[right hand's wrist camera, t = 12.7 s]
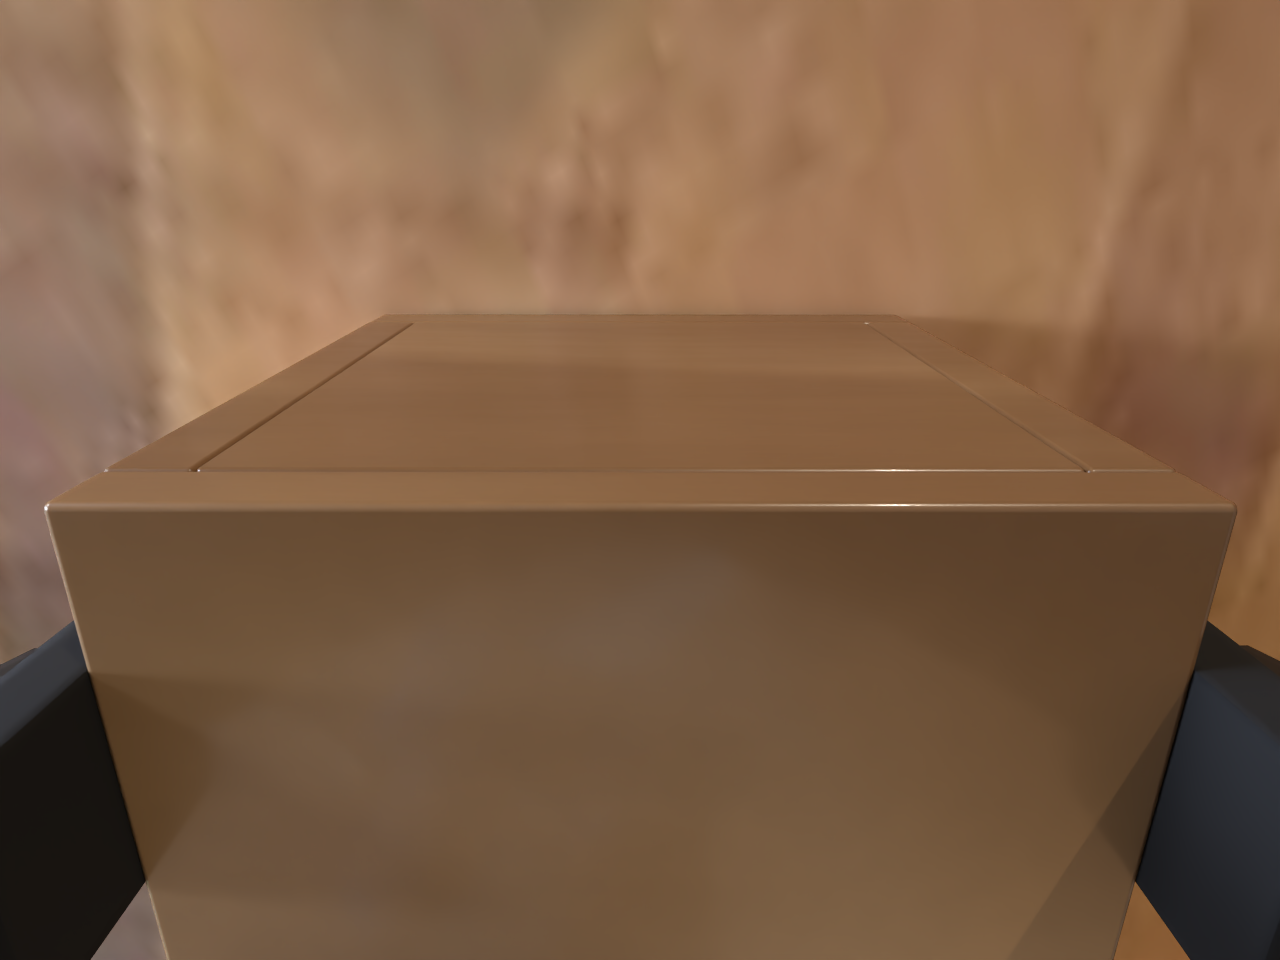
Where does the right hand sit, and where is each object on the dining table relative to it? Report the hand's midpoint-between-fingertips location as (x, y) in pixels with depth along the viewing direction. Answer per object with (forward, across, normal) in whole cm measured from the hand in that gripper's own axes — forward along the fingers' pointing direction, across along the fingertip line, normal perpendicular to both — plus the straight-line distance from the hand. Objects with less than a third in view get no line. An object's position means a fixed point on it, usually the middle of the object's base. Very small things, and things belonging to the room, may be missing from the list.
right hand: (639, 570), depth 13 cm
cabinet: (+6, 0, -7) cm, 9 cm away
